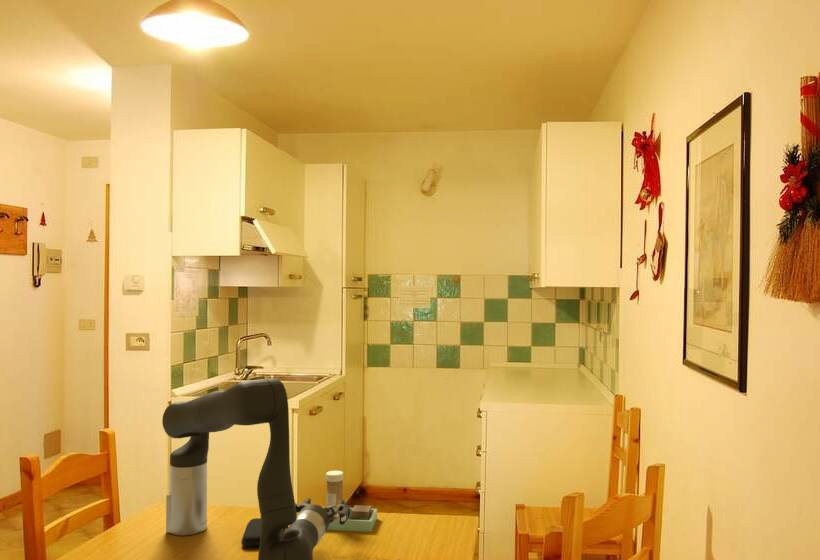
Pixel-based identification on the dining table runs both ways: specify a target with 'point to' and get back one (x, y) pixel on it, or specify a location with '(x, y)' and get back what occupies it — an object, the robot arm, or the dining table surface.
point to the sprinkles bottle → (334, 487)
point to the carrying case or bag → (255, 534)
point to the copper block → (361, 512)
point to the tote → (355, 523)
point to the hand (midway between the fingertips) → (325, 502)
